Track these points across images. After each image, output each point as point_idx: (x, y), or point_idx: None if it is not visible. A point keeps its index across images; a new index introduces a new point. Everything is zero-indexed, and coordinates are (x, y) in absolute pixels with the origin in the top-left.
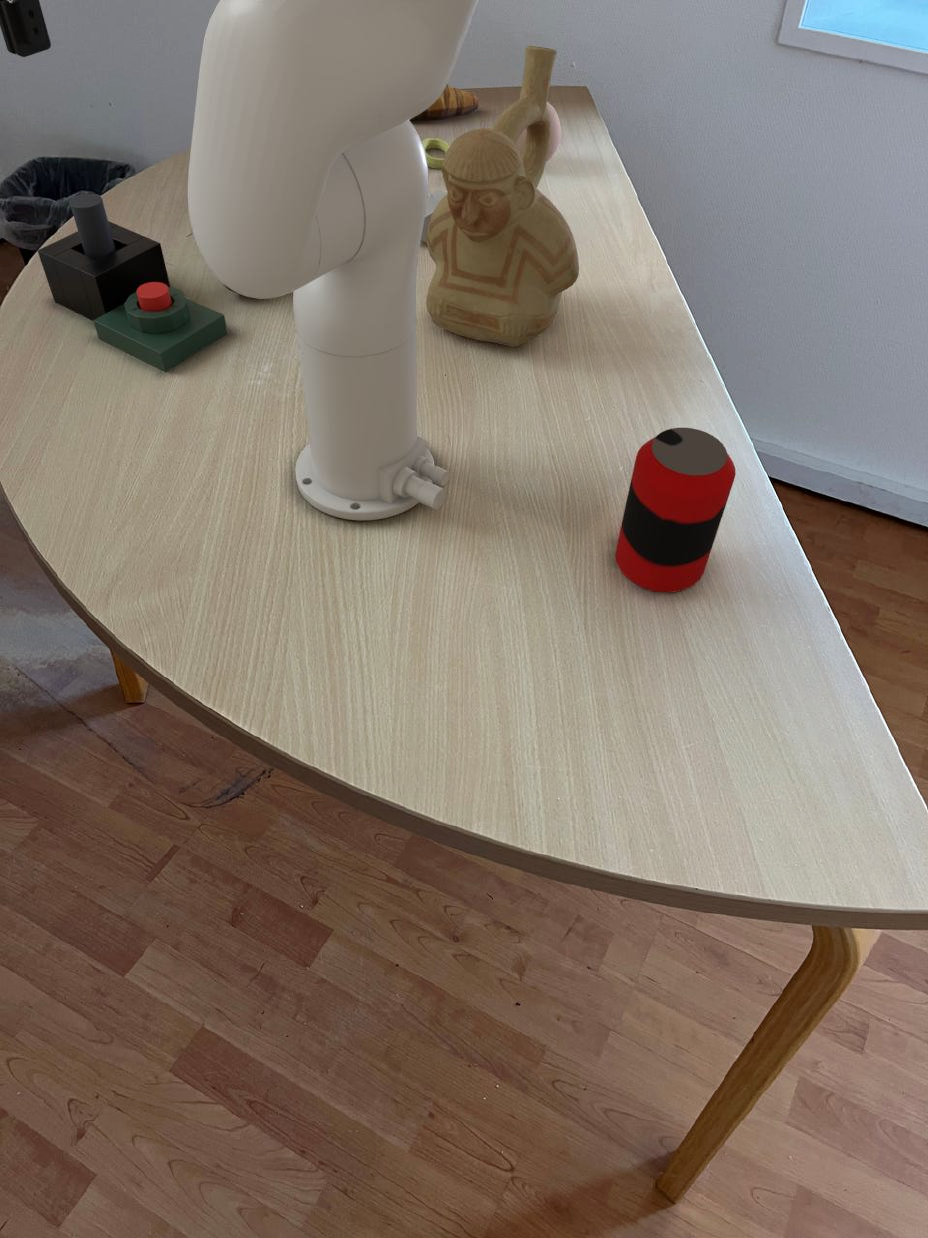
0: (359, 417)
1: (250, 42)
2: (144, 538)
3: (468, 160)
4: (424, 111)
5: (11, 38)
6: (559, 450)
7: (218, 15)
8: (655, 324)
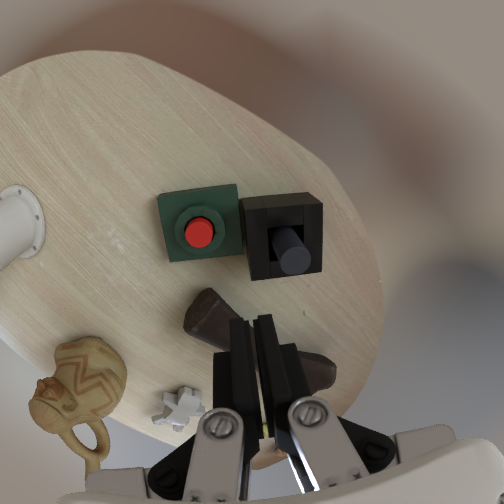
0: None
1: None
2: (45, 98)
3: (34, 409)
4: None
5: (244, 336)
6: (7, 295)
7: None
8: None
